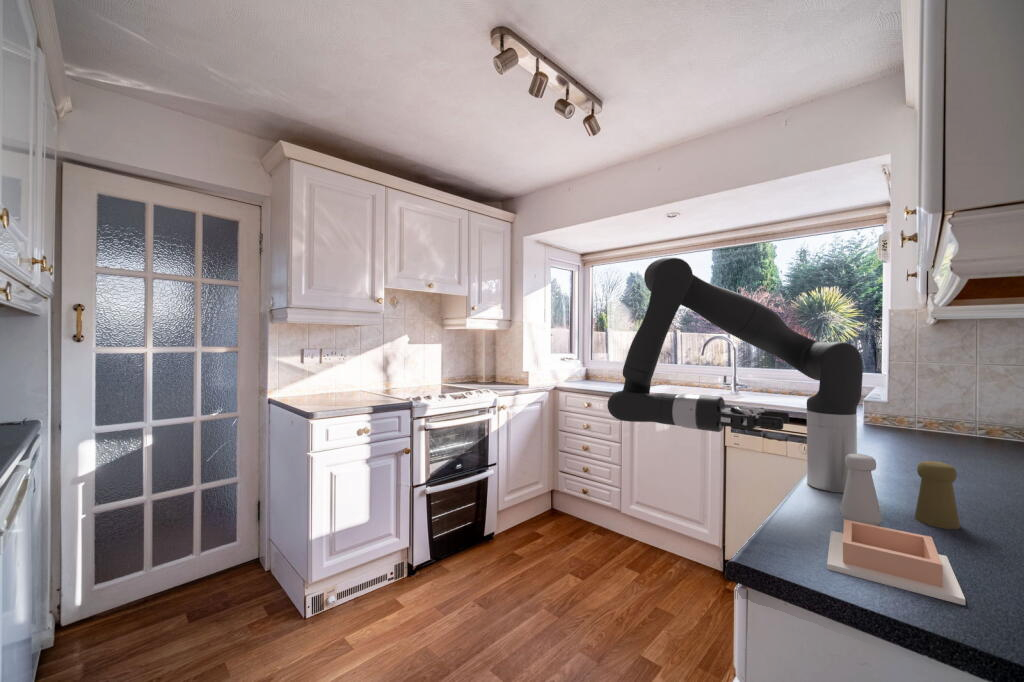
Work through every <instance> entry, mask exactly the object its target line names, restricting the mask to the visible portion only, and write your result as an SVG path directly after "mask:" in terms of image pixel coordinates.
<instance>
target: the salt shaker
mask: <svg viewBox="0 0 1024 682" xmlns="http://www.w3.org/2000/svg"><path fill="white" fill-rule="evenodd" d="M845 464H846V466H847V467H849V472H848V476H847V481H846V485H845V490H844V493H842V497H841V498H842V499H841V503H840V508H839V512H840V515H841V517H842V520H843V521H844V519H845V520H850V521H855V522H860V523H865V524H870V525H875V526H879V525H880V524H881V523H882V521H883V517H882V513H881V509H880V505H879V500H878V495H877V491H876V487H875V483H874V479H873V473H872V471H875V470H876V469H877V462H876V459H875V458H874V457H873V456H870V455H867V454H863V453H857V454H848V455H847V456H846V457H845Z"/></svg>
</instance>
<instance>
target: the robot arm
mask: <svg viewBox="0 0 1024 682" xmlns="http://www.w3.org/2000/svg"><path fill="white" fill-rule="evenodd" d="M643 281H644V284H645V286H646V288H647V290H648V291H649V292H650V297H649V302H648V305H647V309H646V312H645V315H644V317H643V319H642V322H641V324H640V326H639V328H638V330H637V332H636V334H635V335H634V337H633V340H632V342H631V343H630V346H629V349H628V352H627V355H626V359H625V361H624V365H623V368H622V377H623V378H624V383H623V384H624V385H623V388H622V390H619V391H616V392H614V393H612V394H611V395H610V396H609V398H608V401H607V411H608V412H609V414H610V415H611V416H612V417H613V418H615V419H616V420H619V421H622V422H632V423H657V424H663V425H668V426H669V425H670V426H677V427H682V428H685V429H690V430H700V431H708V432H715V433H716V432H717V433H720V432H722V431H723V430H724V427H729V428H737V429H745V430H758V429H760V428H761V429H769V430H776V431H777V430H778V431H782V430H783V429H784V424H785V425H786V424H789V422H790V414H789V412H786V411H785V412H784V411H776V410H775V411H774V410H768V409H766V408H765V407H754V406H742V405H737V404H736V405H732V406H730V407H726V405H725V404H726V402H725V400H724V398H723V397H722V396H719V395H718V396H717V395H705V394H694V393H684V394H683V393H667V392H664V393H663V392H657V393H650V392H651V385H652V384H651V383H652V378H653V377H654V373H655V370H656V368H657V365H658V362H659V358H660V355H661V352H662V349H663V346H664V343H665V340H666V337H667V335H668V332H669V330H670V328H671V325H672V323H673V321H674V319H675V317H676V314H677V312H678V310H679V308H680V307H681V306H682V307H685V308H687V309H689V310H691V311H693V312H694V313H695V314H697V315H698V316H700V317H702V318H703V319H704V320H706V321H707V322H709V323H711V324H712V325H714V326H716V327H717V328H719V329H721V330H723V331H724V332H726V333H727V334H729V335H731V336H733V337H735V338H737V339H739V340H741V341H743V342H744V343H747V344H749V345H752V346H754V347H756V348H757V349H759V350H761V351H764V352H767V353H769V354H771V355H773V356H775V357H777V358H779V359H781V360H782V361H784V362H785V363H786V364H788V365H789V366H790V367H792V368H794V369H795V370H797V371H798V372H800V373H801V374H803V375H804V376H806V377H808V378H810V379H813V380H815V381H819V383H818V384H819V385H818V386H819V387H818V391H817V392H816V394H815V395H812V396H810V397H807V400H806V482H807V483H806V484H807V485H808V486H810V487H813V488H815V489H818V490H822V491H826V492H830V493H831V492H832V493H840V494H841V493H842V494H844V490H845V485H846V481H847V476H848V472H849V467H847V466H846V464H845V457H846V456H847V455H848V454H858V427H857V426H858V423H857V422H858V420H857V417H858V416H857V413H858V412H857V411H858V409H857V408H858V406H859V403H860V401H861V399H862V392H863V391H862V390H863V374H864V373H863V371H864V367H863V366H864V365H863V363H864V362H863V359H862V355H861V353H860V351H859V350H858V348H857V347H856V346H854V345H853V344H851V343H849V342H844V341H819V340H815V339H812V338H810V337H807V336H805V335H803V334H801V333H798V332H797V331H795V330H793V329H792V328H790V327H789V326H788V325H787V324H786V323H785V321H784V319H782V318H781V317H780V316H779V314H778V313H777V312H775V311H774V310H773V309H772V308H770V307H769V306H767V305H765V304H763V303H761V302H759V301H757V300H755V299H753V298H752V297H749V296H747V295H744V294H742V293H739V292H735V291H734V290H730V289H728V288H724V287H721V286H718V285H714V284H712V283H710V282H707V281H706V280H703V279H702V278H699V276H697V275H695V274H693V270H692V267H691V265H690V264H689V263H688V262H687V261H686V260H684V259H682V258H680V257H674V256H673V257H664V258H659V259H657V260H654V261H652V262H651V263H650V264H649V265H648V266H647V267H646V269H645V271H644V277H643Z"/></svg>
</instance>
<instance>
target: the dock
mask: <svg viewBox="0 0 1024 682" xmlns="http://www.w3.org/2000/svg"><path fill="white" fill-rule="evenodd" d="M842 531H843V532H837V531H833V530H830V537H829V546H828V552H827V553H828V554H827V560H826V569H827V570H829V571H833V572H836V573H841V574H845V575H848V576H852V577H856V578H860V579H863V580H867V581H870V582H873V583H874V582H875V583H878V584H883V585H886V586H890V587H894V588H897V589H901V590H905V591H909V592H912V593H917V594H920V595H924V596H928V597H930V598H935V599H939V600H943V601H947V602H951V603H954V604H958V605H962V606H966V598H965V595H964V593H963V591H962V588H961V586H960V584H959V582H958V579H957V577H956V575H955V573H954V572H955V571H954V570H953V568H952V565H951V563H950V561H949V558H948V556H947V555H944V554H939V553H938V551H937V550H938V549H937V547H936V545H935V543H934V539H933V537H932V536H929V535H925V534H924V535H923V534H920V533H919V534H918V533H914V532H908V531H904V530H898V529H893V528H889V527H883V526H875V525H870V524H865V523H860V522H855V521H850V520H845V519H844V520H843V530H842Z"/></svg>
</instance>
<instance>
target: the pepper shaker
mask: <svg viewBox="0 0 1024 682" xmlns="http://www.w3.org/2000/svg"><path fill="white" fill-rule="evenodd" d="M916 469H917V470H916V471H917V474H918V476H919V477H920V478H921V480H920V485H919V489H918V490H919V491H918V496H917V500H916V501H917V503H916V508H915V513H914V520H915V521H917V522H918V523H919V522H920V523H921V524H924V525H927V526H930V527H935V528H940V529H945V530H946V529H947V530H959V529H961V524H960V518H959V514H958V512H959V511H958V507H957V506H958V505H957V501H956V498H955V497H956V495H955V490H954V485H953V483H954V482H956V481H957V477H958V476H957V474H958V473H957V471H956V469H955V467H954V466H952V465H950V464H948V463H945V462H941V461H934V460H924V461H923V460H922V461H920V462H919V463H918V465H917V468H916Z"/></svg>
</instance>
